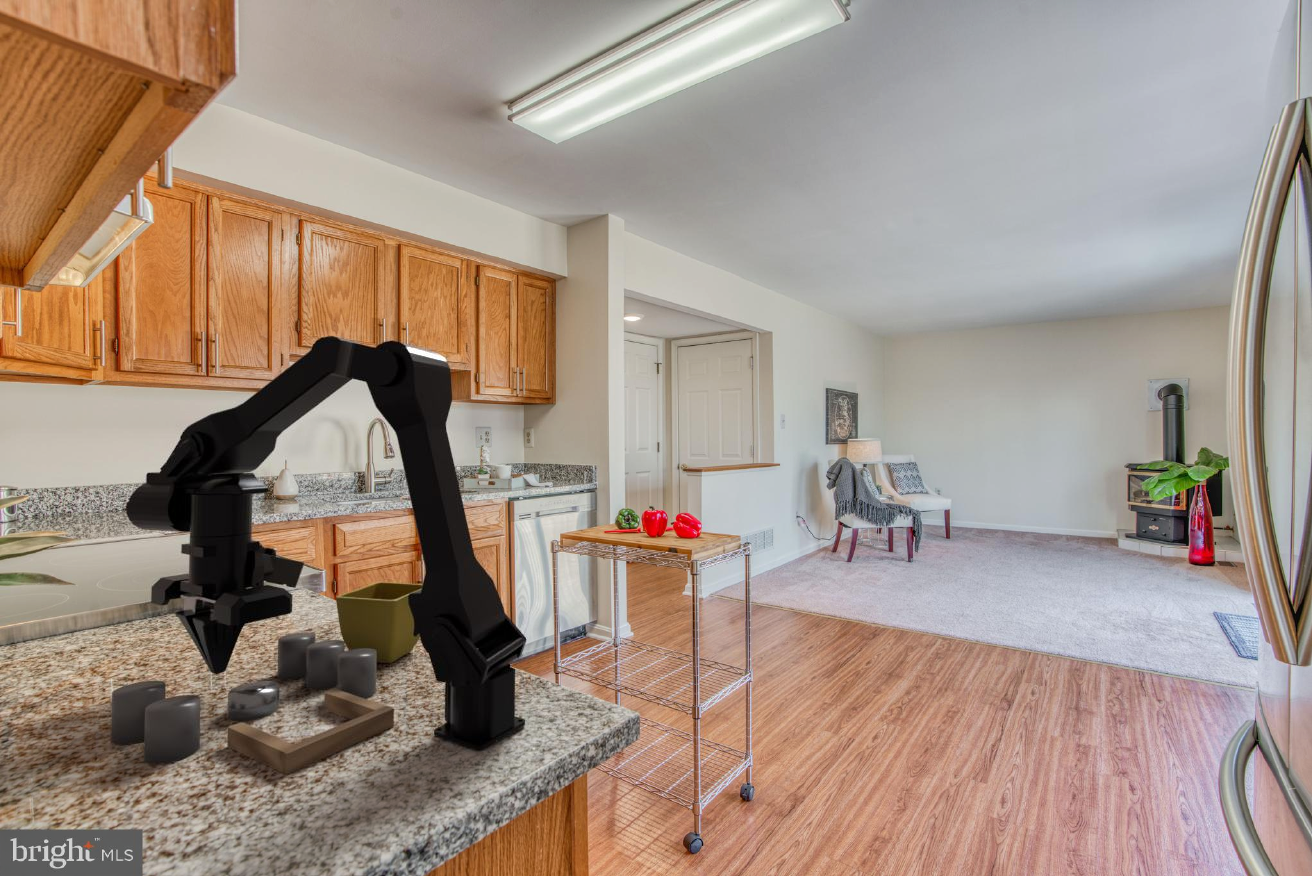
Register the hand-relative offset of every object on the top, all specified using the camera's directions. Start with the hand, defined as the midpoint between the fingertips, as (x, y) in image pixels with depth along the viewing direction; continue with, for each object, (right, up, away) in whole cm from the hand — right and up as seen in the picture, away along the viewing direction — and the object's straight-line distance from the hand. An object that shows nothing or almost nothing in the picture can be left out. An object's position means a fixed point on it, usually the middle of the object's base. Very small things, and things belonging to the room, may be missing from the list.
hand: (218, 672), depth 68 cm
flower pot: (+13, -3, +13) cm, 19 cm away
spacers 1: (+2, -3, -11) cm, 11 cm away
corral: (+16, -3, -9) cm, 18 cm away
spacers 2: (+10, -3, +4) cm, 11 cm away
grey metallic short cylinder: (+6, -3, -4) cm, 8 cm away
